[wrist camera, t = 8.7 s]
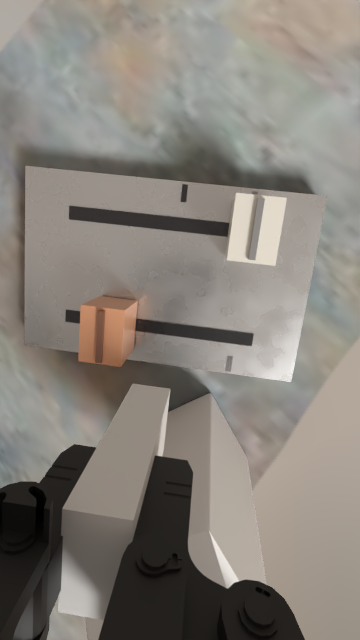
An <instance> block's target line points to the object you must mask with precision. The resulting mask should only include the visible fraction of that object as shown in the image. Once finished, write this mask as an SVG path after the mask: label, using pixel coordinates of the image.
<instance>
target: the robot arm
mask: <svg viewBox="0 0 360 640" xmlns="http://www.w3.org/2000/svg"><path fill="white" fill-rule="evenodd" d="M169 397H170V389H169V388H162V387H154V386H147V385H140V384H132V386H131V387H130V389H129V391H128V393H127V394H126V396H125V398H124V400H123V402H122V403H121V405H120V407H119V409H118V410H117V412H116V414H115V416H114V418H113V419H112V421H111V423H110V425H109V426H108V428H107V430H106V432H105V434H104V435H103V437H102V439H101V441H100V442H99V444H98V446H97V448H95V447H88V446H82V445H75V444H74V445H73V446H71V447H70V448H68V449H67V450H65V451H64V452H62V453H61V454H60V455H59V457H58V458H57V459H56V461H55V462H54V463H53V465H52V467H51V468H50V469H49V470H48V472H47V473H46V475H45V477H43V479H42V480H41V482H40V483H36V482H18V483H14V484H9V485H7V486H5V487H3V488H1V489H0V640H46V639H47V635H48V631H49V616H50V614H51V611H52V609H53V607H54V605H55V602H56V600H57V598H58V595H59V604H58V612H61V613H67V614H72V615H78V616H83V617H89V618H94V619H100V620H104V621H103V625H102V628H101V632H100V635H99V639H98V640H305V639H304V637H303V635H302V632H301V630H300V628H299V625H298V623H297V621H296V619H295V616H294V614H293V612H292V610H291V609H290V607H289V606H288V604H287V602H286V601H285V599H284V598H283V597H282V596H281V595H280V594H279V593H277V592H276V591H275V590H274V589H273V588H272V587H270V586H268V585H266V584H264V583H262V582H260V581H254V580H242V581H238V582H235V583H233V584H232V585H231V586H230V587H229V588H228V589H227V588H225V587H223V586H221V585H220V584H218V583H216V582H214V581H212V580H211V579H209V578H207V577H206V576H204V575H203V574H202V573H201V572H200V571H199V570H198V569H197V568H196V566H195V565H194V563H193V561H192V560H191V557H190V554H189V551H188V535H189V522H190V509H191V496H192V483H193V471H192V469H191V467H190V465H189V463H188V461H187V460H182V459H175V458H169V457H162V455H163V451H164V442H165V433H166V424H167V415H168V406H169Z"/></svg>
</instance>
